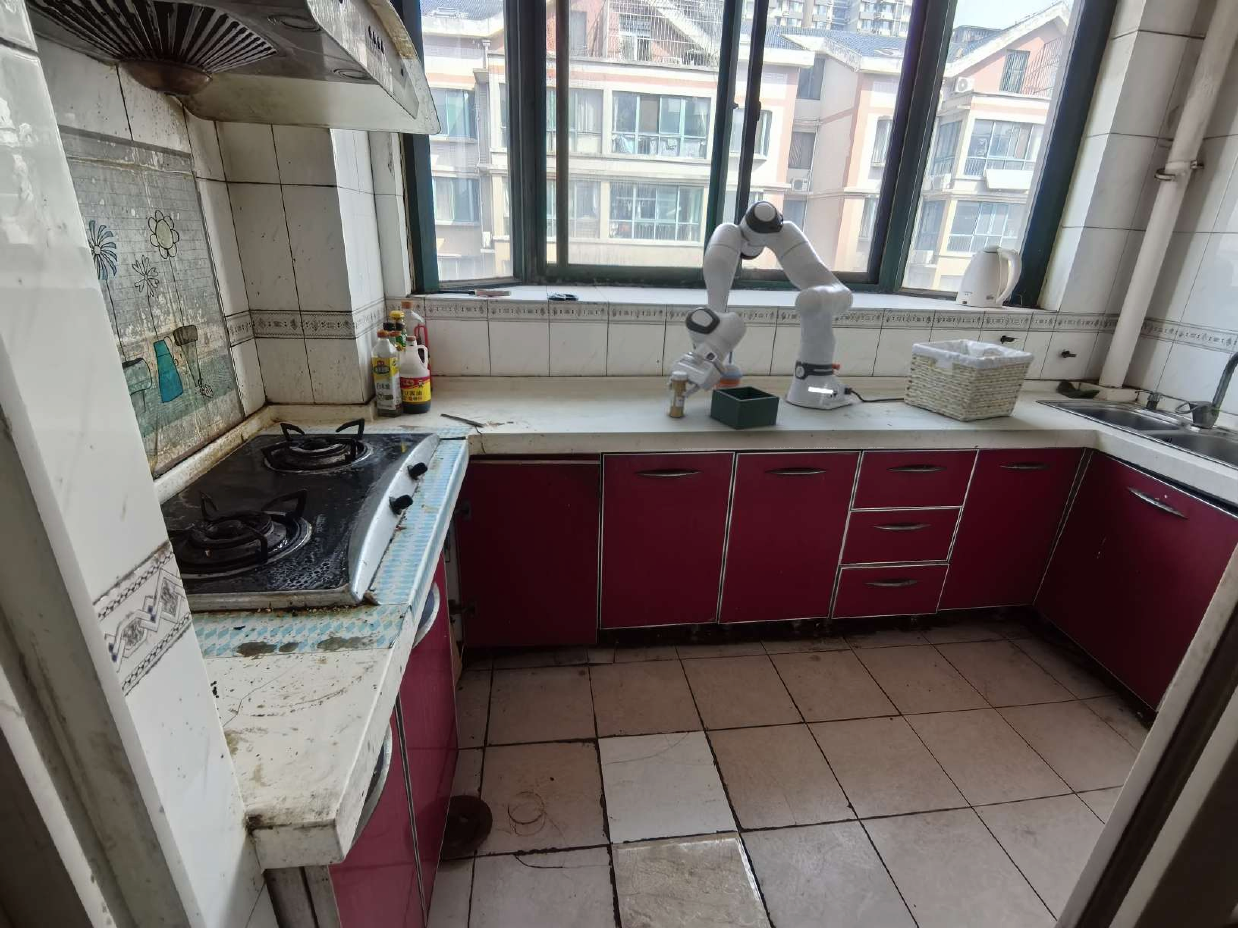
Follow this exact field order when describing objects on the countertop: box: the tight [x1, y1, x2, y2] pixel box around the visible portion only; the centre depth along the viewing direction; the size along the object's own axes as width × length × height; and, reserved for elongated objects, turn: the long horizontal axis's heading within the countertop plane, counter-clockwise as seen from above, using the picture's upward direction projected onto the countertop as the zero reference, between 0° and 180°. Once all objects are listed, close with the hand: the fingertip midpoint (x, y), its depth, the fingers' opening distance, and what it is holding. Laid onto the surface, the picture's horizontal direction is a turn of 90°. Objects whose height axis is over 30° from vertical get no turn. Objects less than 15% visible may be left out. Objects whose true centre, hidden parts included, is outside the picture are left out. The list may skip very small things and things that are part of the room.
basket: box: [903, 338, 1035, 422], centre depth 199 cm, size 27×27×22 cm
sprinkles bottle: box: [668, 371, 687, 418], centre depth 180 cm, size 5×5×13 cm
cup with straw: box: [715, 349, 744, 389], centre depth 194 cm, size 9×9×18 cm
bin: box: [709, 385, 781, 430], centre depth 179 cm, size 15×14×9 cm
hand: (676, 392), depth 180 cm, fingers open, 8 cm apart
